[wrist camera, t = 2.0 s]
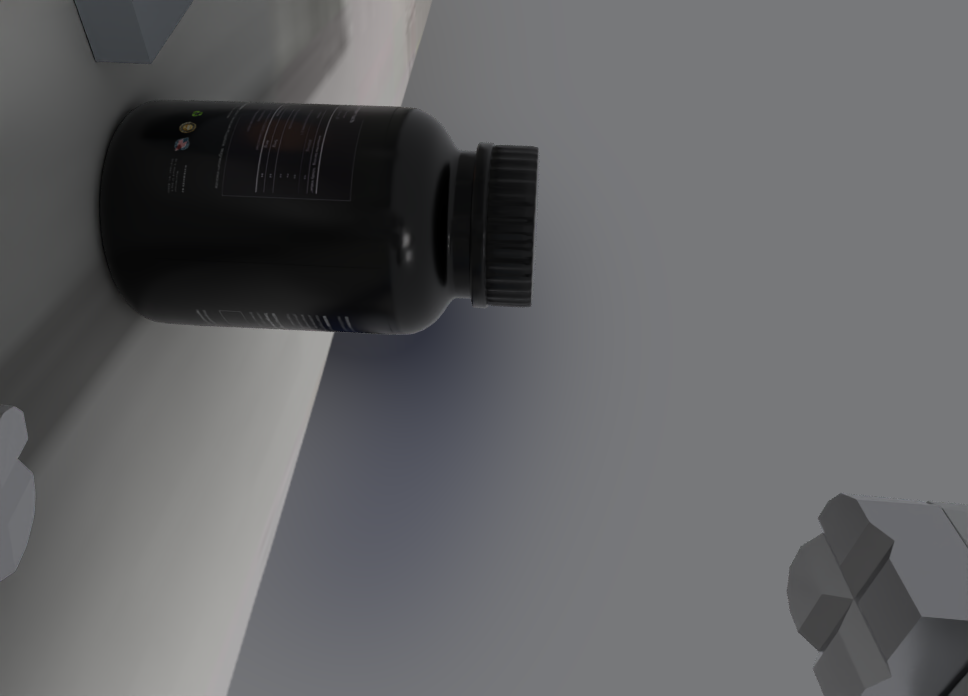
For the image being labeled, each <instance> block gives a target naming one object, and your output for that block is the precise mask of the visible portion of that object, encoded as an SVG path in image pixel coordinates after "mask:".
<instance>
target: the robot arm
mask: <svg viewBox="0 0 968 696" xmlns="http://www.w3.org/2000/svg"><path fill="white" fill-rule="evenodd" d="M27 440H28V434H27V429H26V424H25V419H24V413H23V411H21V410H20V409H18V408H16V407H15V406H10V405H2V404H0V581H2V580H3V579H5V578H6V577H8V576H9V575H11V574H12V573H14V572H15V571H16V569H17V567H18V565H19V562H20V560H21V558H22V556H23V554H24V551H25V549H26V547H27V544H28V540H29V536H30V532H31V528H32V524H33V520H34V516H35V496H36V491H35V483H34V475H33V473H32V472H31V471H30V470H29V469H28V468H27V467H26V466H25V465H24V464H23V463H22V462H21V461H20V460H19V459H18V457H19V455H20V453H21V452H22V450H23V448H24V446H25V444H26V442H27ZM818 520H819V524H820V527H821V530H822V534H820V535H818V536H817V537H815V538H813V539H812V540H810V541H808V542H807V543H805V544H803V545H802V546H801V547H800V549H799V550H798V552H797V554H796V556H795V558H794V560H793V562H792V564H791V565H790V568H789V577H788V585H787V596H788V603H789V609H790V613H791V616H792V618H793V621H794V623H795V626H796V629H797V631H798V633H800V634H801V635H802V636H803V637H804V638H805V639H806V640H807V641H808V642H809V643H810V644H811V645H813V646H814V647H815V648H816V649H817V650H818V654H817V658H816V660H815V663H814V666H813V671H814V673H815V676H816V678H817V680H818V682H819V685H820V687H821V690H822V693H823V695H824V696H968V505H967V504H956V503H944V502H933V501H927V502H922V501H917V500H907V499H896V498H886V497H876V496H866V495H855V494H845V493H840V494H838V495H837V496H836V497H834V498H832V499H831V500H829V501H828V502H827V504H826V505H825V507H824V509H823V510H822V512H821V513H820V515H819V517H818Z"/></svg>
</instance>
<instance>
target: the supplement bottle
mask: <svg viewBox="0 0 968 696" xmlns="http://www.w3.org/2000/svg"><path fill="white" fill-rule="evenodd" d="M538 181H539V150H538V148H537V147H533V146H513V145H496V146H495V145H494V143H483V142H481V143H479V144H478V147H477V151H462V150H459V149H458V148H457V147H456V145H455V144H454V142H453V141H452V139H451V137H450V135H449V134H448V132H447V131H446V129H445V128H444V126H443V125H442V124H441V123H440V122H439V121H438V120H437V119H436V118H434V117H433V116H431V115H429V114H428V113H426V112H424V111H422V110H420V109H417V108H408V107H394V106H362V105H329V104H296V103H262V102H229V101H195V100H189V101H184V100H158V101H151V102H147V103H145V104H142V105H140V106H139V107H137V108H135V109H134V110H133V111H131V112H130V113H129V114H128V115H127V116H126V117H125V118H124V120H123V121H122V122H121V123H120V125H119V126H118V128H117V130H116V131H115V134H114V136H113V138H112V140H111V143H110V145H109V148H108V152H107V155H106V159H105V163H104V168H103V174H102V182H101V194H100V219H101V231H102V238H103V245H104V250H105V254H106V259H107V262H108V266H109V269H110V272H111V275H112V277H113V280H114V282H115V284H116V286H117V288H118V290H119V292H120V293H121V295H122V296H123V298H124V299H125V301H126V302H127V303H128V304H129V305H130V306H131V307H132V308H133V309H134V310H135V311H136V312H137V313H139V314H140V315H142V316H144V317H145V318H147V319H149V320H152V321H155V322H160V323H168V324H184V325H199V326H220V327H241V328H262V329H284V330H305V331H326V332H348V333H371V334H392V335H396V334H403V335H404V334H413V333H416V332H419V331H421V330H423V329H426V328H427V327H429V326H430V325H432V324H433V323H434V322H435V321H436V320H437V319H438V318H439V317H440V316H441V315H442V313H443V312H444V310H445V309H446V308H447V306H448V305H449V303H450V302H451V301H452V300H453V299H454V298H471V302H472V305H473V307H476V308H487V307H488V305H491V306H508V307H530V306H531V304H532V299H533V287H534V270H535V250H536V229H537V206H538Z"/></svg>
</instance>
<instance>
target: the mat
mask: <svg viewBox="0 0 968 696" xmlns="http://www.w3.org/2000/svg"><path fill="white" fill-rule="evenodd" d="M74 1H75V3H76V6H77V9H78V12H79V15H80V18H81V20H82V23H83V26H84V29H85V32H86V35H87V37H88V40H89V43H90V46H91V49H92V52H93V54H94V57H95V60H96V61H98V62H119V63H141V64H151V63H152V62H153V60H154V59H155V57H156V56H157V54H158V53H159V51H160V50H161V48H162V47H163V45H164V44H165V42H166V41H167V39H168V38H169V36H170V35H171V33H172V32H173V30H174V29H175V27H176V26H177V24H178V23H179V21H180V20H181V18H182V17H183V15H184V14H185V12H186V11H187V9H188V8H189V6H190V5H191V3H192V2H193V0H74Z"/></svg>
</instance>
